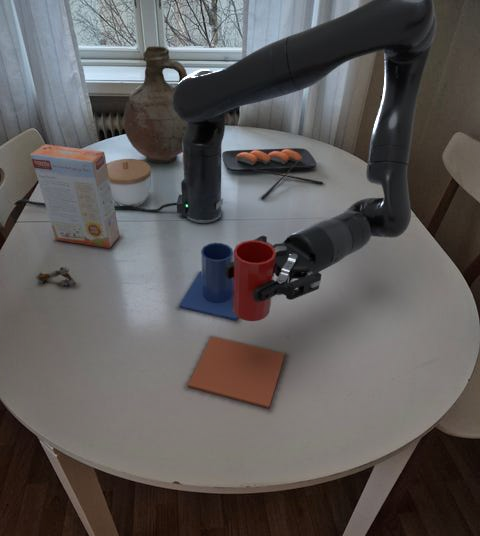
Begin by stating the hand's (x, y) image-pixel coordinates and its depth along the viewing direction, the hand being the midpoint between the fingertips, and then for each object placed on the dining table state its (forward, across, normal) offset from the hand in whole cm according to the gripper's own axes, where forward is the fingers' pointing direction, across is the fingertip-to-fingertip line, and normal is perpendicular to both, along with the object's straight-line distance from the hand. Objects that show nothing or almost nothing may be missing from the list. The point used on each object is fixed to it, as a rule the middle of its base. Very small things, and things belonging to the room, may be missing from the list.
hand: (240, 284), depth 64 cm
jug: (-35, -83, +18) cm, 92 cm away
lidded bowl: (-13, -63, +18) cm, 67 cm away
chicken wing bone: (+17, -40, +18) cm, 47 cm away
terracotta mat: (+1, +2, +18) cm, 18 cm away
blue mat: (-8, -17, +18) cm, 26 cm away
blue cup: (-8, -17, +18) cm, 26 cm away
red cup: (-2, 0, +6) cm, 7 cm away
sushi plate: (-56, -53, +18) cm, 79 cm away
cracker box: (+4, -52, +18) cm, 55 cm away
